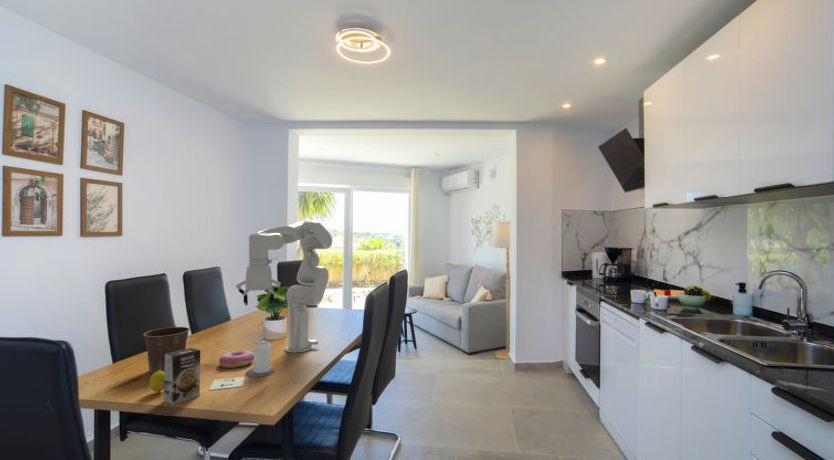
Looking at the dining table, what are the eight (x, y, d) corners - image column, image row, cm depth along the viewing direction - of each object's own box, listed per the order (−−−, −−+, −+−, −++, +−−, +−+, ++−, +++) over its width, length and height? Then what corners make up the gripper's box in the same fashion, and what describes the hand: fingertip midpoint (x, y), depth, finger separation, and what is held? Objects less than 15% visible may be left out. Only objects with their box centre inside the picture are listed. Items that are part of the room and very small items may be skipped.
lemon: (155, 390, 141) (155, 367, 141) (171, 389, 142) (171, 367, 142) (145, 396, 136) (146, 373, 136) (162, 395, 136) (162, 372, 136)
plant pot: (132, 374, 157) (133, 333, 158) (170, 361, 173) (171, 325, 173) (161, 379, 152) (162, 337, 152) (198, 366, 167) (198, 328, 167)
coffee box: (172, 405, 129) (173, 356, 129) (163, 401, 132) (163, 353, 132) (200, 396, 136) (201, 349, 137) (190, 392, 140) (191, 346, 140)
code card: (244, 377, 154) (244, 376, 154) (242, 386, 145) (242, 386, 145) (213, 380, 151) (213, 379, 151) (209, 390, 141) (209, 389, 141)
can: (273, 368, 163) (273, 339, 163) (265, 374, 157) (266, 344, 157) (258, 368, 164) (258, 339, 164) (250, 373, 157) (250, 343, 158)
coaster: (274, 366, 167) (274, 365, 167) (274, 375, 157) (274, 374, 157) (246, 369, 163) (246, 368, 163) (244, 378, 153) (244, 377, 153)
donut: (260, 361, 174) (260, 350, 174) (238, 371, 162) (238, 359, 162) (236, 358, 179) (236, 347, 179) (212, 367, 166) (212, 355, 166)
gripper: (280, 261, 170) (280, 300, 170) (236, 262, 164) (237, 303, 164) (280, 263, 163) (281, 304, 163) (235, 264, 157) (235, 307, 157)
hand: (259, 303), depth 164 cm, fingers open, 9 cm apart
